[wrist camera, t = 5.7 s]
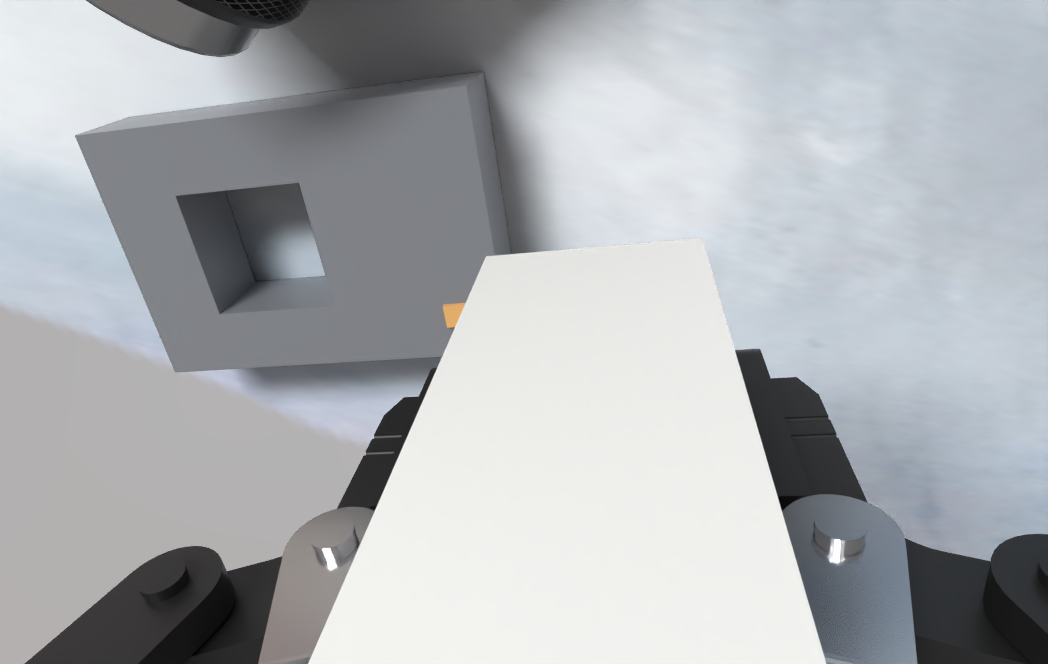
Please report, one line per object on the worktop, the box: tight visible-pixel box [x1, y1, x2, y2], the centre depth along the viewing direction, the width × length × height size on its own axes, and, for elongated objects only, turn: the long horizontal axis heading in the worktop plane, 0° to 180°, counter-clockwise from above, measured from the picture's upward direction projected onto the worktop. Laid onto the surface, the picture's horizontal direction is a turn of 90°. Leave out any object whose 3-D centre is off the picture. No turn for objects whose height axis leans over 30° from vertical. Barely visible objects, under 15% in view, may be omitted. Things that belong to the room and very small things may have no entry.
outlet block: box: [75, 71, 512, 372], centre depth 31 cm, size 16×11×4 cm
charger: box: [308, 238, 826, 664], centre depth 10 cm, size 4×4×9 cm
